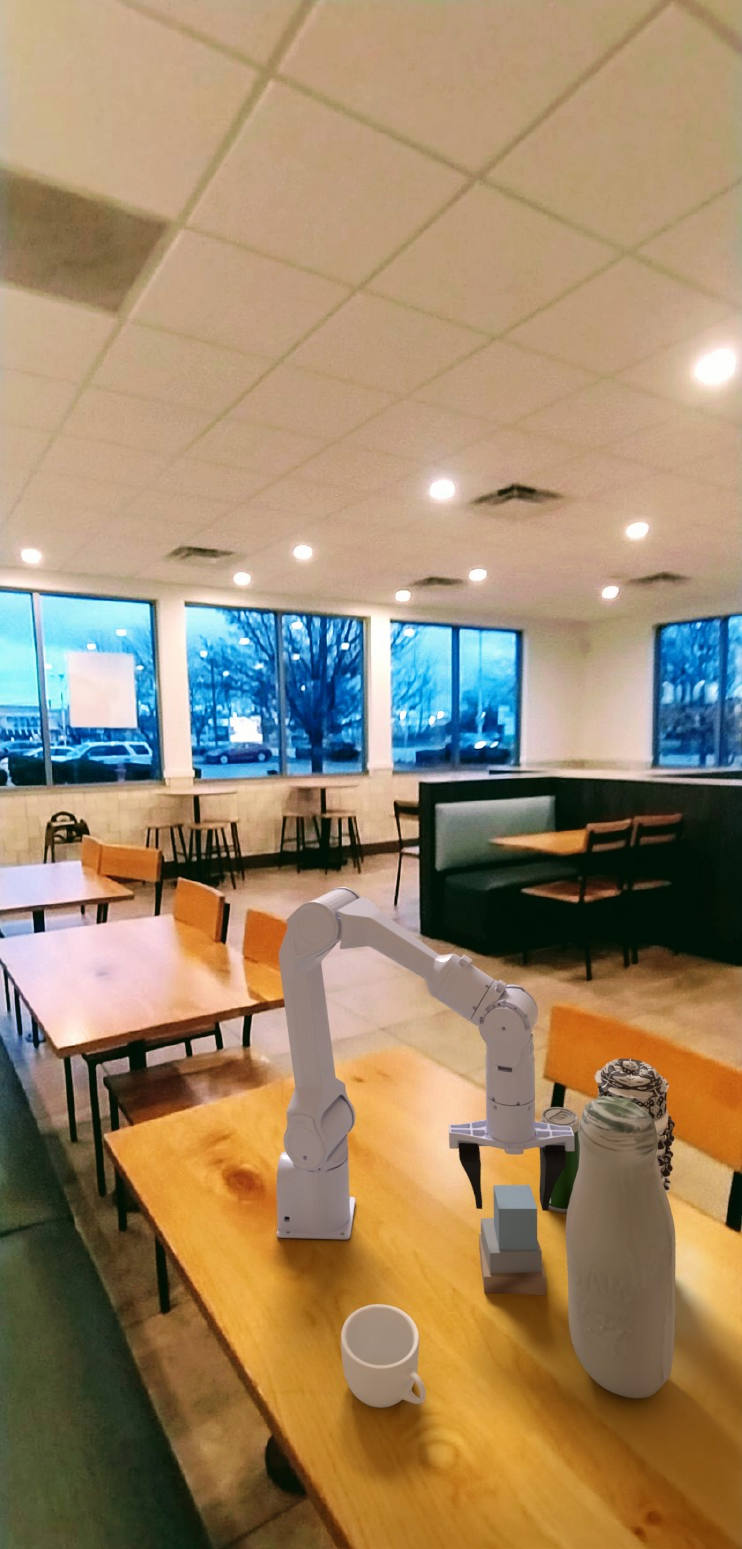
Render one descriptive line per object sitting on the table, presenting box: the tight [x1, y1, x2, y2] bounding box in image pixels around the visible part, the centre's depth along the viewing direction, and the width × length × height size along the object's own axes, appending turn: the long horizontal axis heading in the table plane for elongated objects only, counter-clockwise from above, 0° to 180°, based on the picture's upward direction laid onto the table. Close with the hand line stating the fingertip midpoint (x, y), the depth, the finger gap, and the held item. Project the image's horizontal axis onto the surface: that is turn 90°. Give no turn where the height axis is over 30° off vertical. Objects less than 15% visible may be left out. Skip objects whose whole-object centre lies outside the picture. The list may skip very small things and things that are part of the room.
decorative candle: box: [594, 1058, 676, 1194], centre depth 86 cm, size 9×9×25 cm
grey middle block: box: [480, 1217, 543, 1274], centre depth 87 cm, size 6×6×2 cm
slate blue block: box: [493, 1184, 538, 1250], centre depth 87 cm, size 4×4×5 cm
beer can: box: [539, 1106, 580, 1214], centre depth 100 cm, size 5×5×12 cm
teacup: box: [340, 1303, 427, 1409], centre depth 72 cm, size 10×8×5 cm
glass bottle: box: [565, 1096, 677, 1399], centre depth 72 cm, size 10×10×28 cm
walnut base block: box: [478, 1234, 547, 1296], centre depth 87 cm, size 7×7×2 cm
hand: (511, 1204), depth 87 cm, fingers open, 7 cm apart
